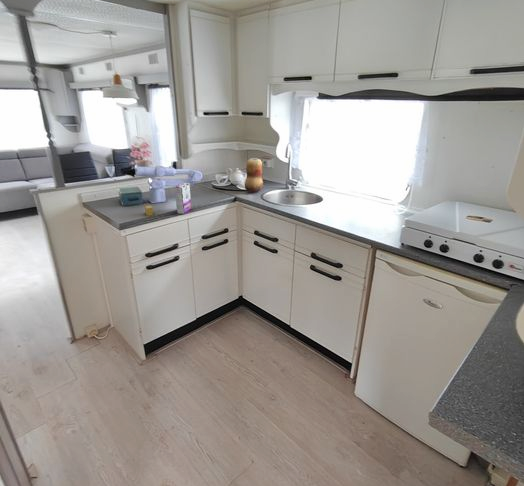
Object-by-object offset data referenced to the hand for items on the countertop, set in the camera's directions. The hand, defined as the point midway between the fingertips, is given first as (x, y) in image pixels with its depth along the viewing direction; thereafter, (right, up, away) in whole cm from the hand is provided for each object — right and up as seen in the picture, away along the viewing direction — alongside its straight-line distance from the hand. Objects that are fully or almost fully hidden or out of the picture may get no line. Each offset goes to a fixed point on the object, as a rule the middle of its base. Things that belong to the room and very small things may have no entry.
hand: (121, 171), depth 201 cm
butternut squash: (+81, -7, +43) cm, 92 cm away
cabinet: (0, -17, +15) cm, 23 cm away
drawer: (+2, -18, +11) cm, 21 cm away
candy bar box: (+40, -25, -2) cm, 47 cm away
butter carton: (+20, -27, -8) cm, 35 cm away
